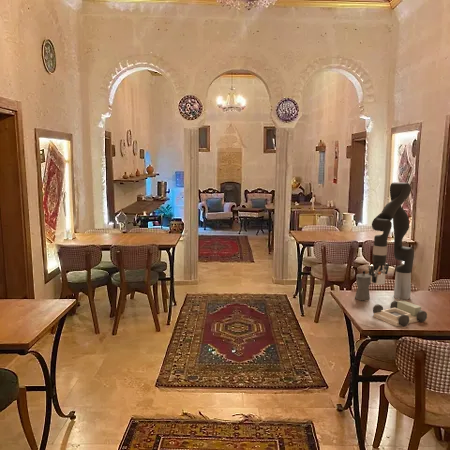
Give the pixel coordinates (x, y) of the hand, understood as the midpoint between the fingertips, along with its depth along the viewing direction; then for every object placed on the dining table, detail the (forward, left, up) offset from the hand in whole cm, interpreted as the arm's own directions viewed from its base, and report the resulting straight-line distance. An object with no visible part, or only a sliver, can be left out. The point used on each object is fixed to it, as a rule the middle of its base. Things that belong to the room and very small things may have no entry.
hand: (377, 281), depth 255 cm
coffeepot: (-11, -21, -18) cm, 30 cm away
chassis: (-3, +14, -18) cm, 23 cm away
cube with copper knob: (0, 0, -1) cm, 1 cm away
